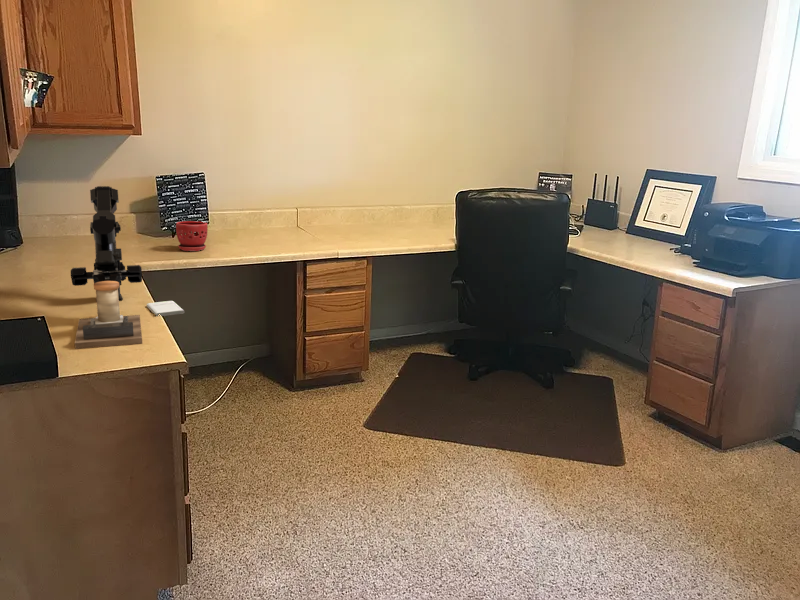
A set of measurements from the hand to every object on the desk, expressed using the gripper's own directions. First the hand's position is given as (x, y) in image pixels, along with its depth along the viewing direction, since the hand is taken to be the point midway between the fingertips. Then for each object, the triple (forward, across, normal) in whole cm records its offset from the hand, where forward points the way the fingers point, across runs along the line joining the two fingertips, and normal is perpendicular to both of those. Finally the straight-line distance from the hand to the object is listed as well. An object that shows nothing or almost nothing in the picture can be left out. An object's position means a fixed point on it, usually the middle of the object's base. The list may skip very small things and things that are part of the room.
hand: (108, 300), depth 194 cm
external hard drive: (-2, +16, +13) cm, 20 cm away
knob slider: (+8, 0, -1) cm, 8 cm away
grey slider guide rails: (+11, 0, -4) cm, 12 cm away
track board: (+12, 0, -2) cm, 12 cm away
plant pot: (-69, +32, +78) cm, 109 cm away
